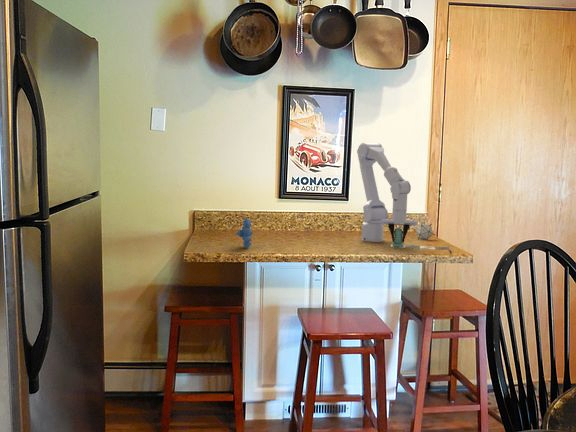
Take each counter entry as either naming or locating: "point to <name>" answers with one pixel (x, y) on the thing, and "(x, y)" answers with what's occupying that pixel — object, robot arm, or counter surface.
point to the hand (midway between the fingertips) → (398, 242)
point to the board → (426, 247)
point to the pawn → (398, 238)
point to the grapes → (245, 233)
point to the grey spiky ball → (424, 231)
